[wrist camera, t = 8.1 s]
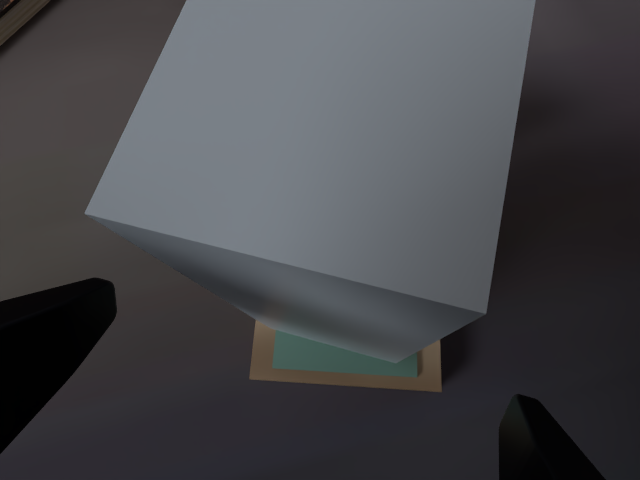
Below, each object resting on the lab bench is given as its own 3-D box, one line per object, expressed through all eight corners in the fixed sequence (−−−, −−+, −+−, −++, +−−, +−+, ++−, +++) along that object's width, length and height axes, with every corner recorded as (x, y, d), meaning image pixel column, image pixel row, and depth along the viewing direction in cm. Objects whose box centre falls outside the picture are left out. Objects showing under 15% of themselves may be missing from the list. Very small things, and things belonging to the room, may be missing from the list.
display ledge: (433, 391, 19) (493, 397, 10) (259, 379, 20) (184, 376, 11) (428, 156, 23) (468, 21, 14) (282, 155, 24) (239, 26, 15)
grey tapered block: (395, 363, 17) (485, 314, 5) (270, 328, 18) (84, 213, 6) (419, 250, 19) (536, -3, 6) (302, 223, 20) (207, -44, 7)
